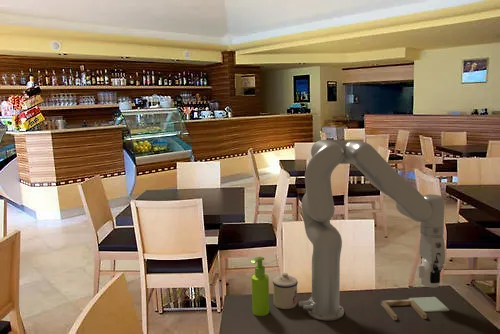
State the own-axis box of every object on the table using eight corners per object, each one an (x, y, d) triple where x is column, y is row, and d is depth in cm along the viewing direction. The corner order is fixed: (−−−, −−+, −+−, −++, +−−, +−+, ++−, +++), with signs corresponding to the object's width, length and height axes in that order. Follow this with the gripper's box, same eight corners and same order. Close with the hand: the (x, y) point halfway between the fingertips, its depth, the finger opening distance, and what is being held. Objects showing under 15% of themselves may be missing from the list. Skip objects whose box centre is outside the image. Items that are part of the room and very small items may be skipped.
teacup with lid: (298, 309, 147) (298, 278, 146) (273, 309, 148) (272, 278, 146) (296, 294, 159) (296, 265, 158) (272, 294, 160) (272, 265, 158)
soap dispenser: (247, 313, 146) (245, 259, 143) (260, 306, 151) (259, 253, 148) (259, 318, 142) (258, 263, 139) (272, 311, 147) (271, 257, 144)
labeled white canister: (444, 286, 145) (445, 262, 144) (421, 288, 145) (422, 263, 143) (436, 279, 151) (437, 256, 150) (413, 281, 151) (414, 257, 149)
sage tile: (421, 312, 144) (421, 311, 144) (408, 299, 154) (409, 297, 154) (449, 310, 144) (449, 309, 144) (435, 297, 154) (435, 296, 154)
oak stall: (393, 320, 139) (393, 316, 139) (381, 304, 150) (381, 300, 150) (426, 318, 139) (426, 314, 139) (412, 303, 150) (412, 299, 150)
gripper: (455, 237, 137) (453, 288, 139) (430, 222, 154) (429, 268, 156) (433, 238, 136) (431, 289, 139) (410, 223, 153) (409, 270, 156)
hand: (430, 278), depth 148 cm, fingers closed on labeled white canister, 6 cm apart
